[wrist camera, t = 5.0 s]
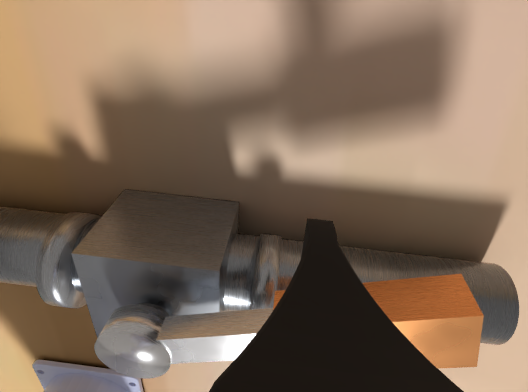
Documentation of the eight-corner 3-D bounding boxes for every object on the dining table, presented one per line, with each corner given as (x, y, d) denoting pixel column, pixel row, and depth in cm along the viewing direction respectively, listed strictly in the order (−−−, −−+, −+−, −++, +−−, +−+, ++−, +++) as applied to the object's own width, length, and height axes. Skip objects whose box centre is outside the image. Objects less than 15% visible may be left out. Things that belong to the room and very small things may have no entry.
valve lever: (134, 339, 15) (113, 384, 13) (104, 295, 14) (77, 340, 12) (452, 317, 12) (476, 370, 11) (456, 260, 11) (484, 310, 9)
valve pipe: (454, 310, 19) (493, 396, 15) (-64, 247, 20) (-151, 311, 16) (499, 231, 16) (562, 312, 12) (-114, 162, 17) (-234, 216, 13)
